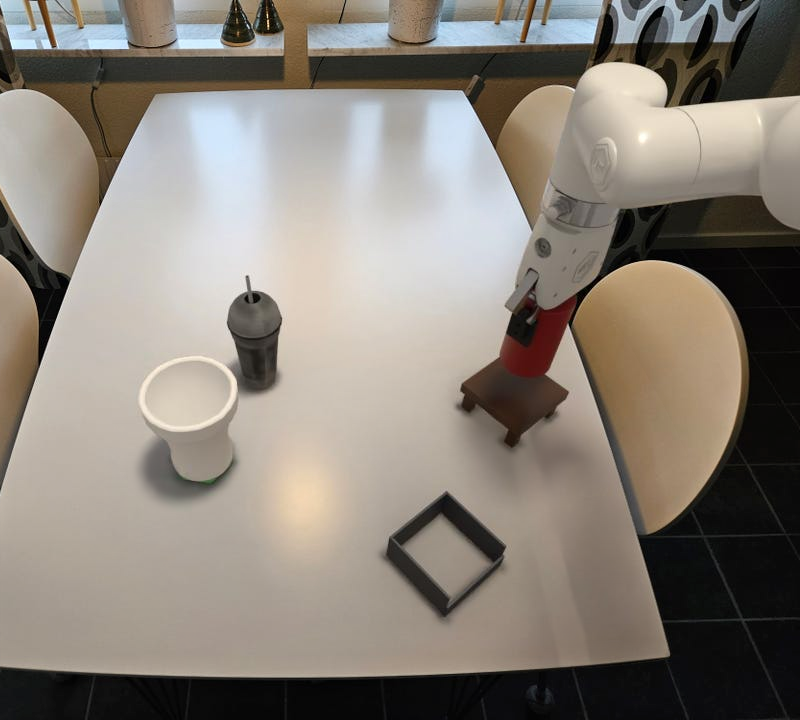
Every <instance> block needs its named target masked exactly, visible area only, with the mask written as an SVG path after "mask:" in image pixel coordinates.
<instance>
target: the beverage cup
mask: <svg viewBox="0 0 800 720" xmlns="http://www.w3.org/2000/svg"><path fill="white" fill-rule="evenodd" d="M244 278H245V283H246V290H247V291H245V292H242V293H240V294H239V295H238V296H236V297H235V298H234V299H233V301H232V303H231V304H230V305H229V308H228V313H227V319H226V325H227V330H229V332H230V335H231V338H232V340H233V342H234V346H235V348H236V349H235V350H236V354H237V358H238V361H239V366H240V369H241V373H242V376H243V379H244V382H245V384H246V385H247V386H248V387H249V388H251V389H254V390H265V389H268V388H270V387H271V386H272V385H274V383H275V381H276V375H277V368H278V350H279V349H278V348H279V335H280V332H281V328H282V327H281V326H282V324H283V317H282V313H281V310H280V308H279V306H278V303H277V302H276V300H275V299H273V298H272V297H271V295H269V294H267V293H266V292H264V291H260V290H252V286H251V285H252V284H251V278H250V275H248V274H246V275H245V276H244Z"/></svg>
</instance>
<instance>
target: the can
mask: <svg viewBox="0 0 800 720" xmlns="http://www.w3.org/2000/svg"><path fill="white" fill-rule="evenodd" d="M533 291H534V292H535V293H536V291H535V289H534V290H533ZM576 294H577V293H576ZM576 294H574V295H573V296H571V297H570V298H568V299H567V300H565V301H564V302H563V303H561V304H560V305H558V306H556V307H555V308H552V309H548V310H545V309H542V310H541V312H540V314H539V315H538V317H537V319H536V320H537V321H538V322H539V323H538V326H537V328H536V331H535V334H534V337H533V339H532V342H531V345H530V346H528V347H524V346H523V345H521V344H520V343H519V342H517V341H516V340H514V339H513V338H511V337H510V336H509V335H507V333H506V332H505V334H504V336H503V337H504V338H503V339H502V344H501V346H500V350H499V354H498V355H499V356H498V357H500V361H501V363H502V365H503V366H504V367H505V368H506V369H507V370H508V371H510V372H511V373H513V374H515V375H517V376H520V377H525V378H536V377H540V376H542V375H544V374H545V375H546V374H547V373H548V372H549V371H550V369H551V367H552V364H553V362H554V359H555V356H556V354H557V351H558V350H559V347H560V344H561V342H562V339H563V337H564V335H565V333H566V330H567V327H568V325H569V322H570V320H571V318H572V315H573V313H574V311H575V308H576V305H577V302H578V296H577V297H576ZM535 304H536V303H535V302H534V301H532V300H531V299H529V298H527V299H526V301H525V302H524V304H523V306H524V307H525V308H526V309H528V310H529V311H530V312H531V311H532V309H533V307H534V306H535ZM510 318H511V316H510ZM510 318H509V319H510Z"/></svg>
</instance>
